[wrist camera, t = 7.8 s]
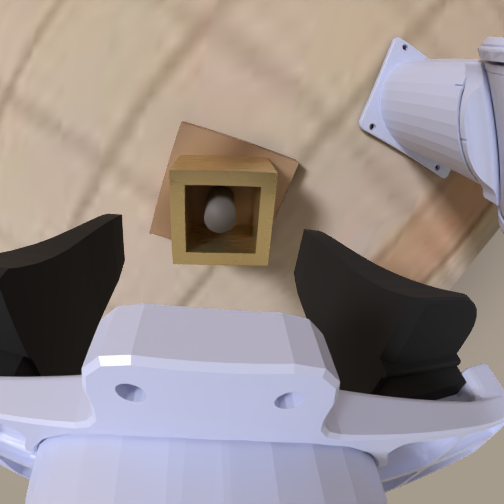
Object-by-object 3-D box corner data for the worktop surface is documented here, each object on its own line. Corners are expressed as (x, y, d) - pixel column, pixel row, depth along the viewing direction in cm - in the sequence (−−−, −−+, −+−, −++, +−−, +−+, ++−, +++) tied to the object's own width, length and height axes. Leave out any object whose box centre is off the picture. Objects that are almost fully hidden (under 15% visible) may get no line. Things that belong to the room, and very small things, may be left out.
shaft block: (295, 159, 20) (313, 177, 16) (253, 256, 24) (260, 291, 20) (183, 121, 18) (172, 128, 14) (152, 227, 22) (138, 258, 18)
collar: (267, 157, 19) (277, 173, 16) (260, 235, 22) (268, 265, 18) (179, 155, 18) (169, 170, 15) (180, 234, 21) (173, 264, 18)
